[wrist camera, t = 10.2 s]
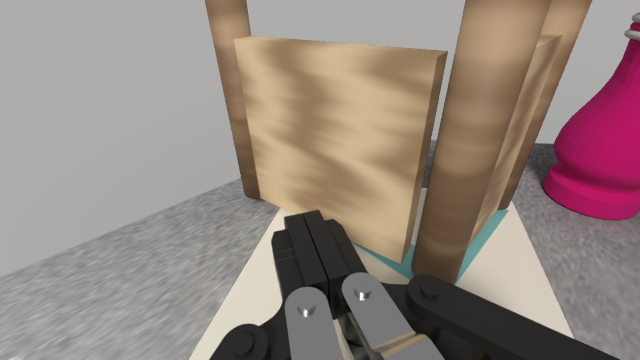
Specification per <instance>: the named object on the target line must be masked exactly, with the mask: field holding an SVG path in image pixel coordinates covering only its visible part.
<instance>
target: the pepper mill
mask: <svg viewBox="0 0 640 360" xmlns="http://www.w3.org/2000/svg"><path fill="white" fill-rule="evenodd" d="M632 20H633V21H634V22H633V23H632V24H631V25H630V29H629V30H627V31H625V34H624V35H625V36H626V37H628V38H630V41H629V43H628V46H627V48H626V51H625V53H624V56H623V58H622V60H621V62H620V64H619V65H618V67H617V69H616V71H615V72H614V74H613V76H612V77H611V79H610V80H609V81H608V82H607V83H606V84H605V86H604V87H603V88H602V89H601V90H600V91H599V92H598V93H597V94H596V95H595V96H594V97H593V98H592V99H591V100H590V101H589V102H588V103H586V105H584V106H583V107H582V108H581V109H580V110H579V111H578V112H577V113H575V114H574V115H573V116H572V117H571V118H570V119H569V121H568V122H567V123H566V124H565V126H564V127H563V128H562V129H561V131H560V133H559V135H558V136H557V138H556V140H555V142H554V152H555V155H556V157H557V159H558V161H559V163H557V164H555V165H553V166H552V167H551V168H550V170H549V172H548V174H547V176H546V178H545V181H544V183H543V187H544V190H545V192H546V193H547V194H548V195H549V197H550V198H552V199H553V200H554V201H556V202H557V203H559V204H561V205H562V206H564V207H566V208H568V209H570V210H572V211H575V212H578V213H580V214H583V215H587V216H590V217H595V218H600V219H607V220H623V219H629V218H631V217H633V216H635V215H636V214H637V213H638V211H639V210H640V13H637V14H635V15H634V16H633V17H632Z"/></svg>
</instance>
